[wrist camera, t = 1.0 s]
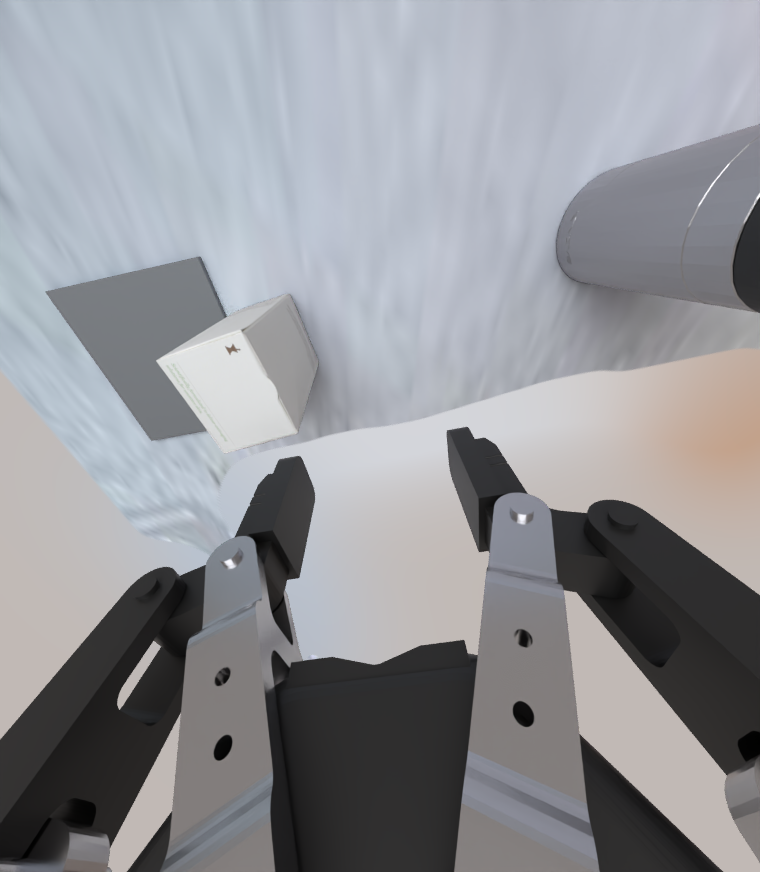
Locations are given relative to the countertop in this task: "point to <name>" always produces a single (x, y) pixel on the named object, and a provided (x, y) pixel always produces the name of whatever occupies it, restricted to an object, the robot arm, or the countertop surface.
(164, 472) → the countertop surface
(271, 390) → the skincare box
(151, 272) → the mat
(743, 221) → the robot arm
